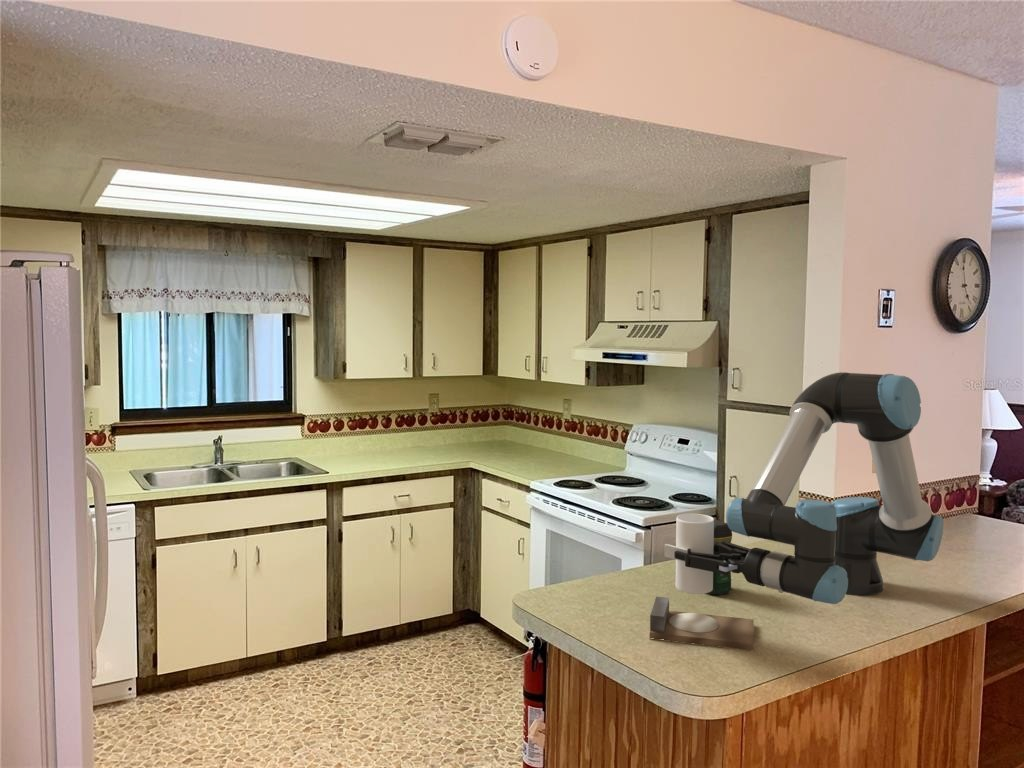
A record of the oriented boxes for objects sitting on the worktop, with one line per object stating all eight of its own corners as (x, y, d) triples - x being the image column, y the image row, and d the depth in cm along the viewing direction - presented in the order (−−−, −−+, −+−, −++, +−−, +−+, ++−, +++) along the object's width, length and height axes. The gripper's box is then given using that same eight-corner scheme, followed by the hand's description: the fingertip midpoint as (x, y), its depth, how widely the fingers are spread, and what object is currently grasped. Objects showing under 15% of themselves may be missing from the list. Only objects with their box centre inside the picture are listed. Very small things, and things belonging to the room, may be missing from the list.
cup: (671, 582, 178) (672, 513, 177) (706, 581, 179) (707, 513, 178) (681, 594, 170) (682, 523, 169) (717, 593, 171) (719, 522, 169)
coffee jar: (736, 593, 198) (738, 522, 197) (711, 597, 195) (712, 525, 194) (712, 581, 207) (713, 513, 206) (688, 585, 204) (689, 516, 203)
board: (753, 625, 177) (753, 604, 177) (753, 650, 164) (754, 627, 164) (656, 615, 184) (656, 595, 183) (649, 638, 170) (649, 616, 170)
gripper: (741, 599, 154) (648, 572, 170) (792, 575, 168) (702, 552, 185) (742, 562, 153) (649, 539, 170) (793, 541, 168) (702, 522, 184)
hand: (676, 546), depth 177 cm, fingers closed on cup, 8 cm apart
